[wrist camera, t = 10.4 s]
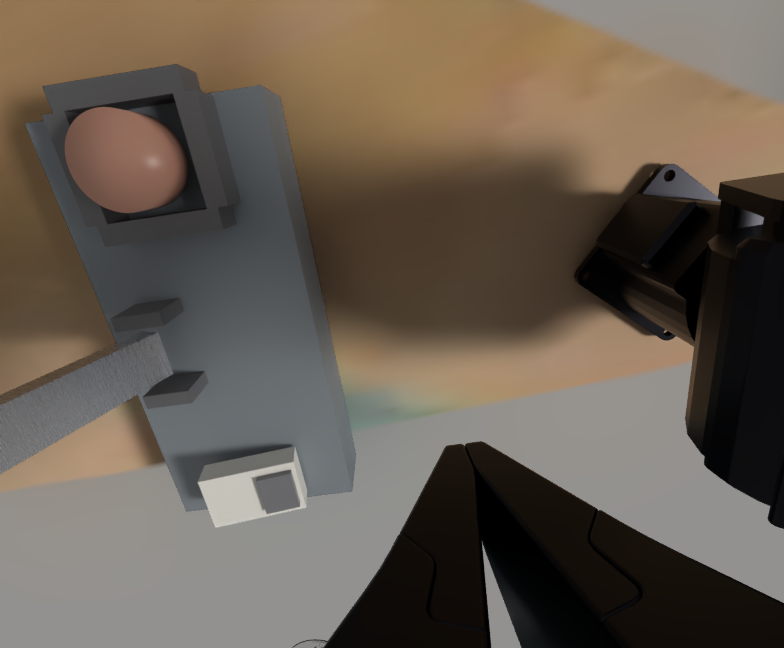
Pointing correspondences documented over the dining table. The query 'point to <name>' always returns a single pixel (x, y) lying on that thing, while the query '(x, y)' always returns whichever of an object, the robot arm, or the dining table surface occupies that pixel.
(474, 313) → the dining table surface
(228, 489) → the rocker switch
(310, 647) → the wineglass
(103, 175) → the push button
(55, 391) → the toggle lever
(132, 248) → the panel
